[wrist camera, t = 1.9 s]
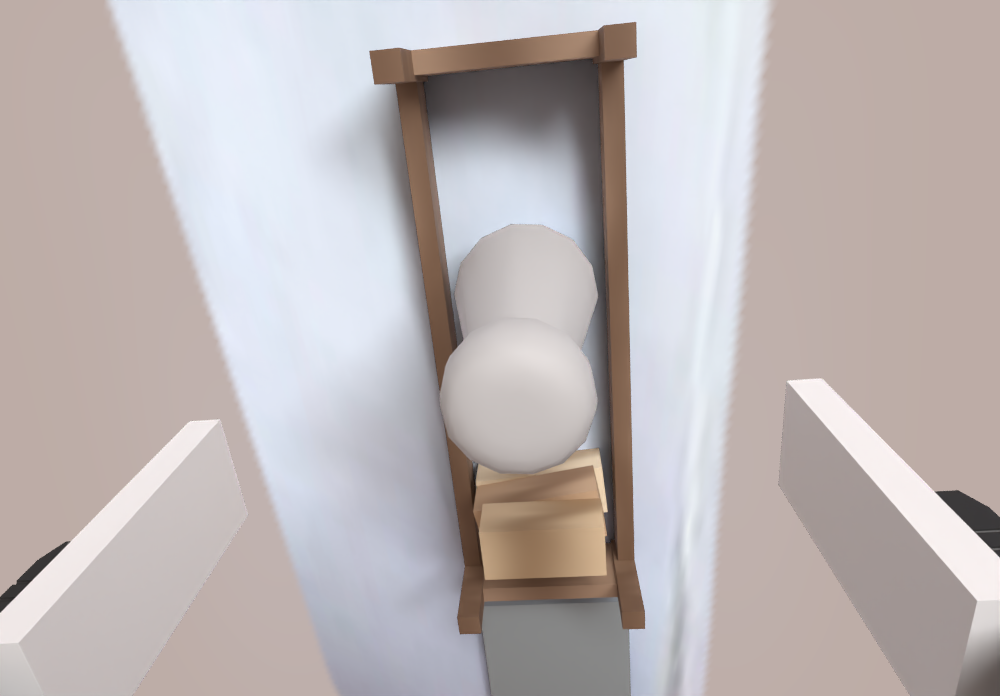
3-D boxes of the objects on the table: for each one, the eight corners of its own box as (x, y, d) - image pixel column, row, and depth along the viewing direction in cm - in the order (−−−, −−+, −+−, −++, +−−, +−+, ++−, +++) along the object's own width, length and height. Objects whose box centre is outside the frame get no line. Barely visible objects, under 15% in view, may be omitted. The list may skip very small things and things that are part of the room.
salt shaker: (616, 250, 28) (676, 377, 16) (554, 358, 30) (565, 543, 18) (495, 189, 27) (460, 274, 15) (440, 304, 29) (372, 458, 17)
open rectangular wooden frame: (617, 33, 25) (635, 22, 20) (630, 554, 34) (645, 628, 29) (399, 56, 26) (369, 51, 21) (470, 560, 35) (459, 634, 30)
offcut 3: (600, 498, 28) (604, 527, 27) (602, 544, 29) (606, 575, 28) (482, 504, 29) (478, 532, 27) (488, 548, 30) (485, 579, 28)
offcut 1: (598, 445, 32) (601, 467, 30) (603, 488, 33) (607, 512, 31) (479, 459, 33) (475, 481, 31) (487, 500, 34) (484, 524, 32)
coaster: (626, 593, 35) (627, 601, 35) (629, 699, 38) (630, 709, 37) (480, 598, 36) (478, 606, 35) (494, 702, 39) (493, 711, 38)
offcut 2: (592, 465, 30) (596, 489, 28) (603, 508, 31) (607, 535, 29) (476, 485, 31) (473, 511, 29) (489, 528, 32) (486, 555, 30)
